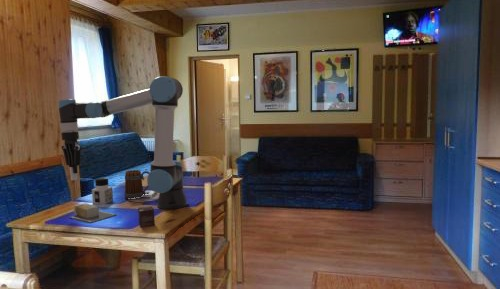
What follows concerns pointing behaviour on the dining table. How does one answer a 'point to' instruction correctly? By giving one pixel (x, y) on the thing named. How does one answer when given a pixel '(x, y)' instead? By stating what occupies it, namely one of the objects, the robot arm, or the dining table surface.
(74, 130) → the robot arm
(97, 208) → the skincare box
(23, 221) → the dining table surface
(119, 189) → the dining table surface
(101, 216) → the mat
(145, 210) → the box
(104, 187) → the container
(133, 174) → the mug
